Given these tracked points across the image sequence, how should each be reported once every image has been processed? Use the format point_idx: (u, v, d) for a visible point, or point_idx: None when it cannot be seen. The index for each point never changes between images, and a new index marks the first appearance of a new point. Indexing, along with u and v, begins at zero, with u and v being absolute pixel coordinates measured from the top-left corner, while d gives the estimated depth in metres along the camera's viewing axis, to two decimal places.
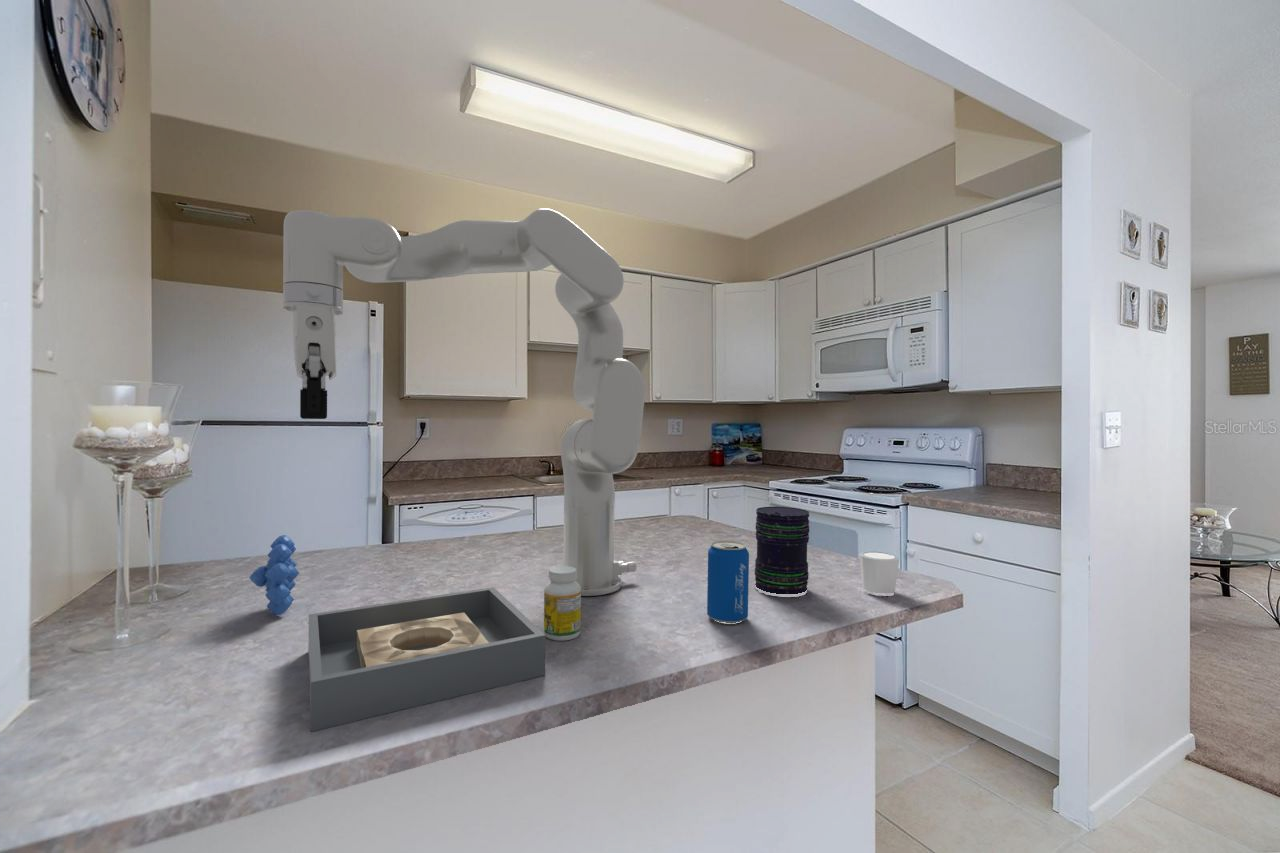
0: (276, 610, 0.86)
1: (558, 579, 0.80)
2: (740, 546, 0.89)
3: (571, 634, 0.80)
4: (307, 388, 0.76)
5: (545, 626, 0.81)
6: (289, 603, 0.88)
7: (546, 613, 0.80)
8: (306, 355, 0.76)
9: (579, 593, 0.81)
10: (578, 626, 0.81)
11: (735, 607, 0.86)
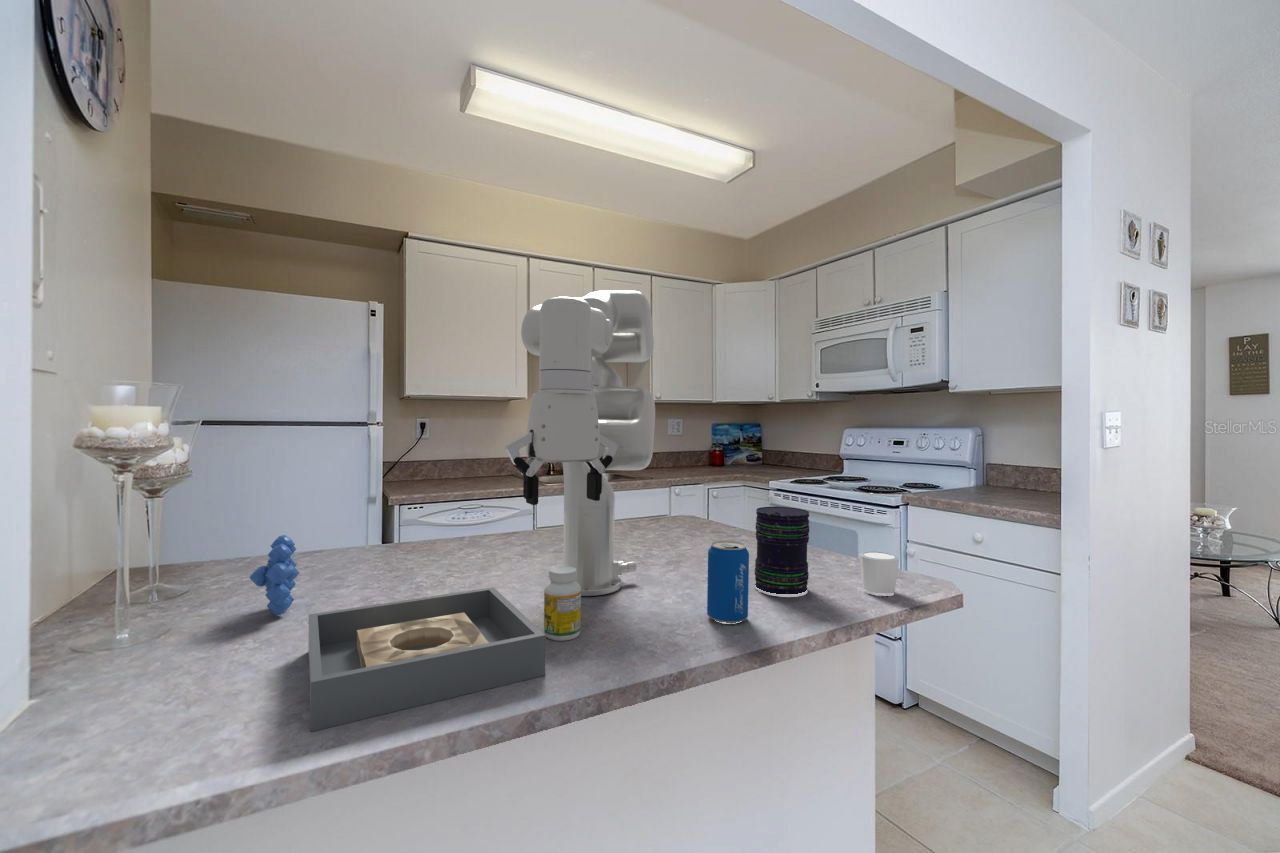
0: (277, 610, 0.86)
1: (559, 579, 0.80)
2: (740, 546, 0.89)
3: (571, 634, 0.80)
4: None
5: (545, 626, 0.81)
6: (289, 603, 0.88)
7: (546, 613, 0.80)
8: None
9: (580, 593, 0.81)
10: (578, 626, 0.81)
11: (735, 607, 0.86)
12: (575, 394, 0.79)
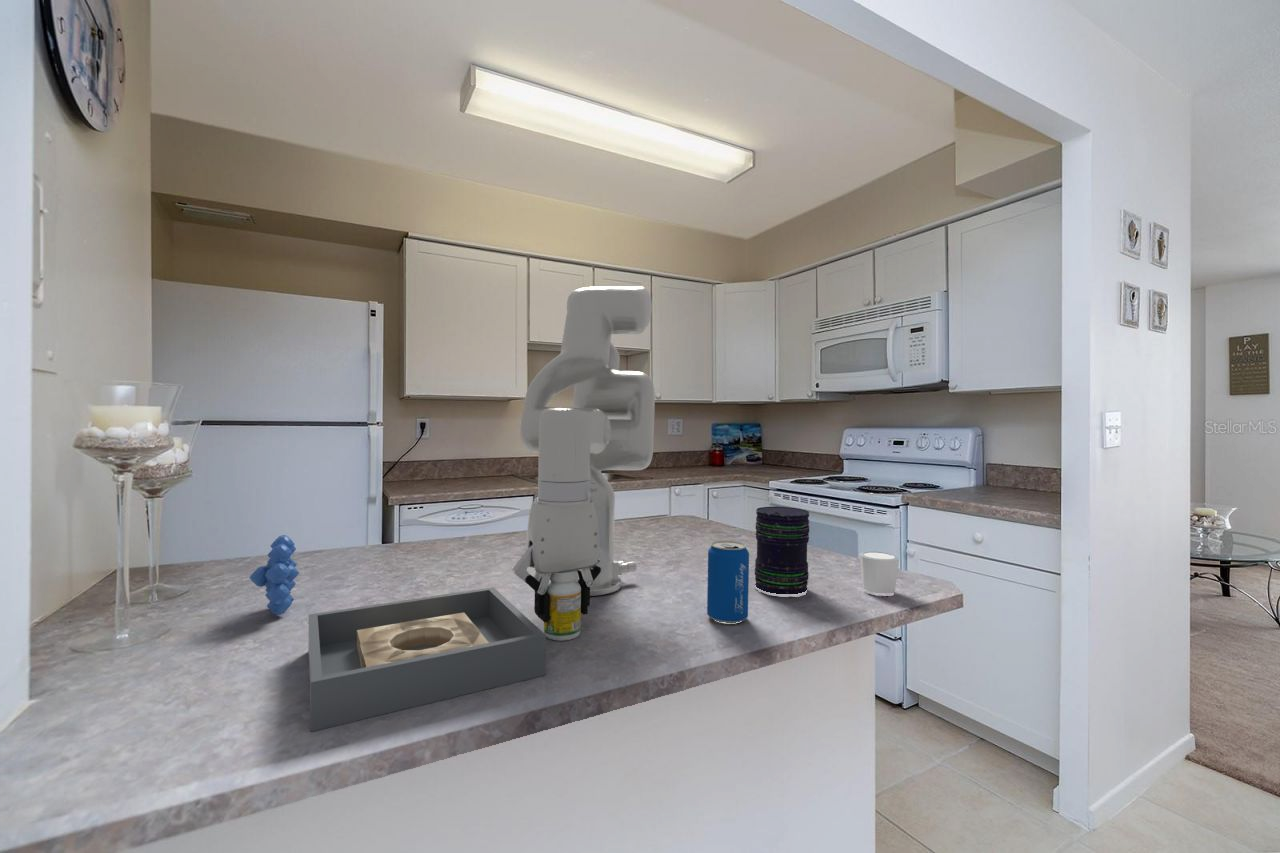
0: (276, 610, 0.86)
1: (559, 579, 0.80)
2: (740, 546, 0.89)
3: (571, 634, 0.80)
4: None
5: (545, 626, 0.81)
6: (289, 603, 0.88)
7: None
8: None
9: (580, 593, 0.81)
10: (578, 626, 0.81)
11: (735, 607, 0.86)
12: (574, 504, 0.80)
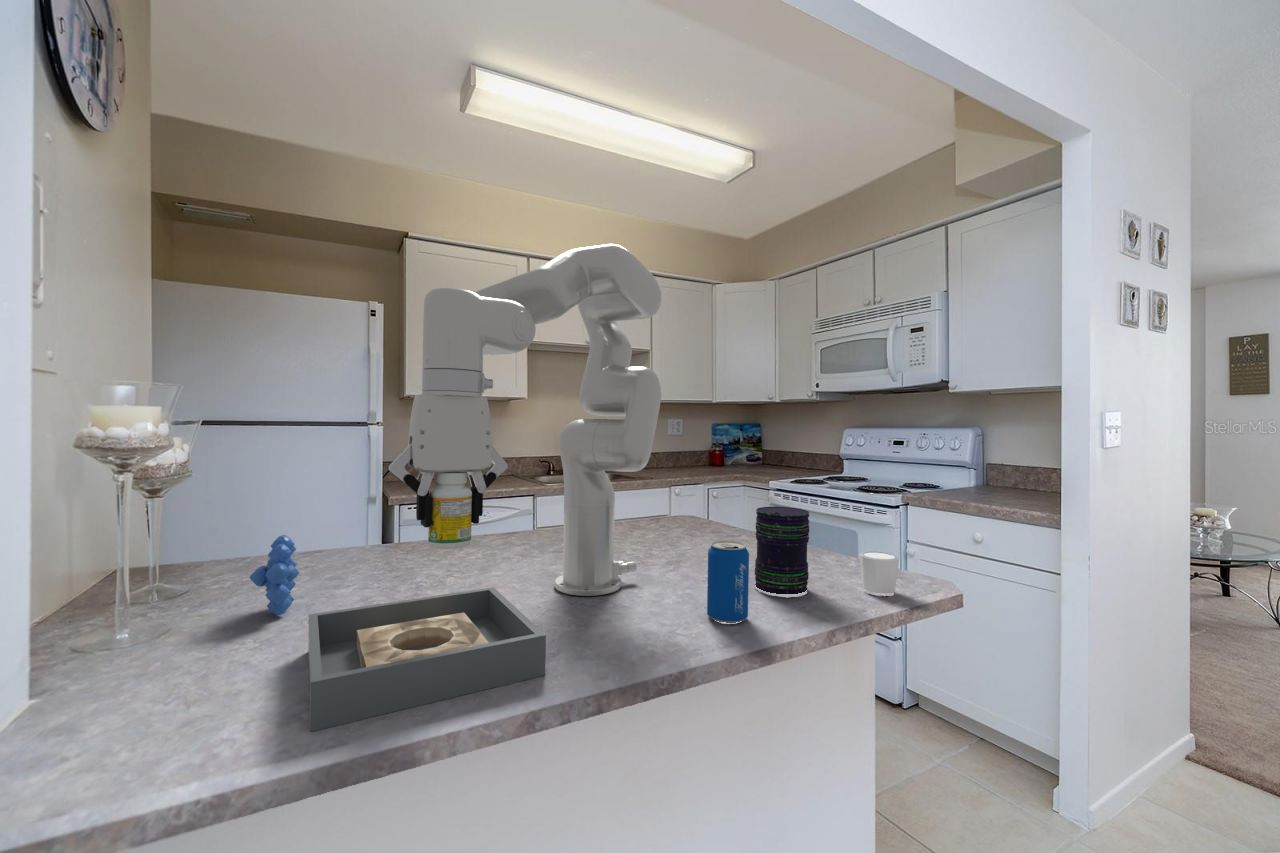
0: (277, 610, 0.86)
1: (443, 480, 0.71)
2: (740, 546, 0.89)
3: (457, 542, 0.71)
4: None
5: (428, 534, 0.72)
6: (289, 603, 0.88)
7: None
8: None
9: (469, 498, 0.72)
10: (466, 534, 0.72)
11: (735, 607, 0.86)
12: (461, 396, 0.71)
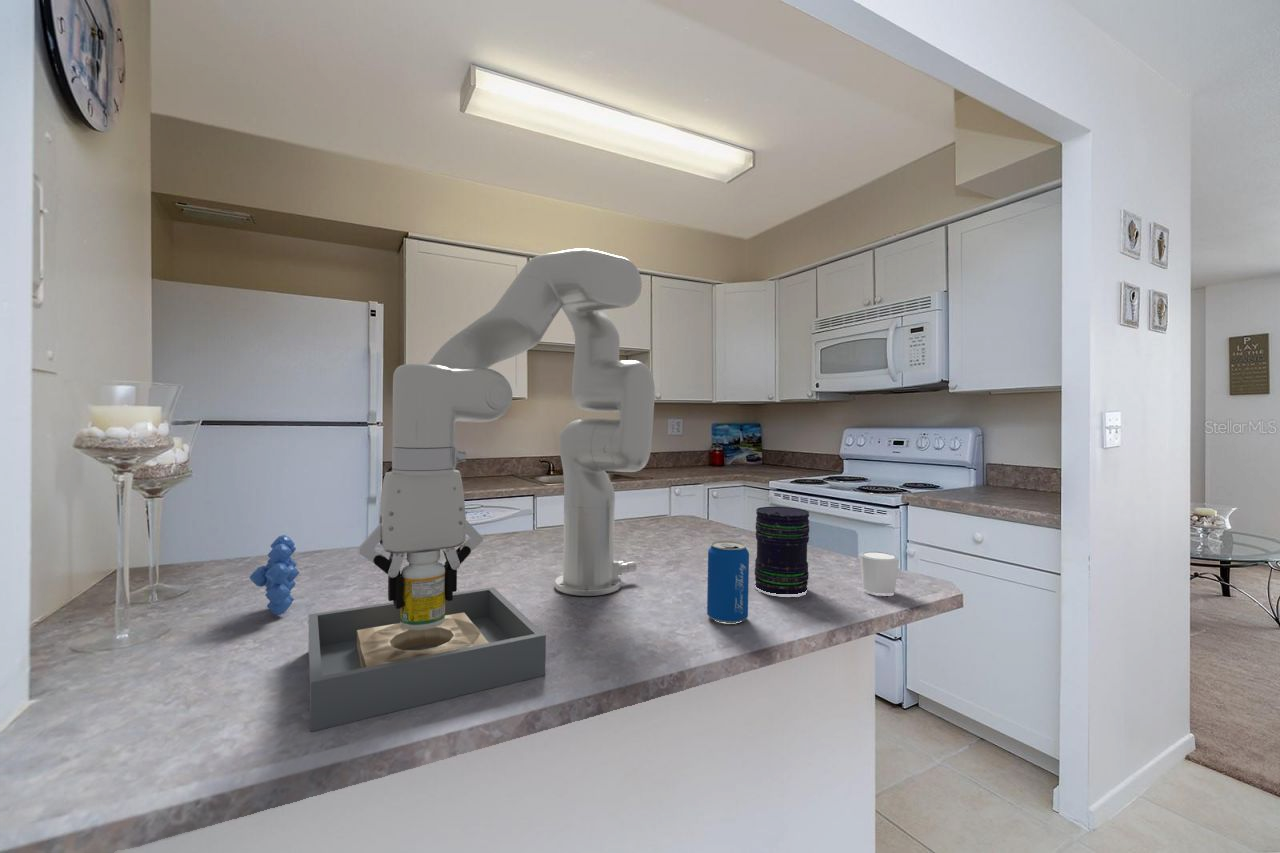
0: (276, 610, 0.86)
1: (415, 560, 0.70)
2: (740, 546, 0.89)
3: (429, 623, 0.70)
4: None
5: None
6: (289, 603, 0.88)
7: None
8: None
9: (442, 576, 0.71)
10: (439, 614, 0.71)
11: (735, 607, 0.86)
12: (432, 474, 0.70)
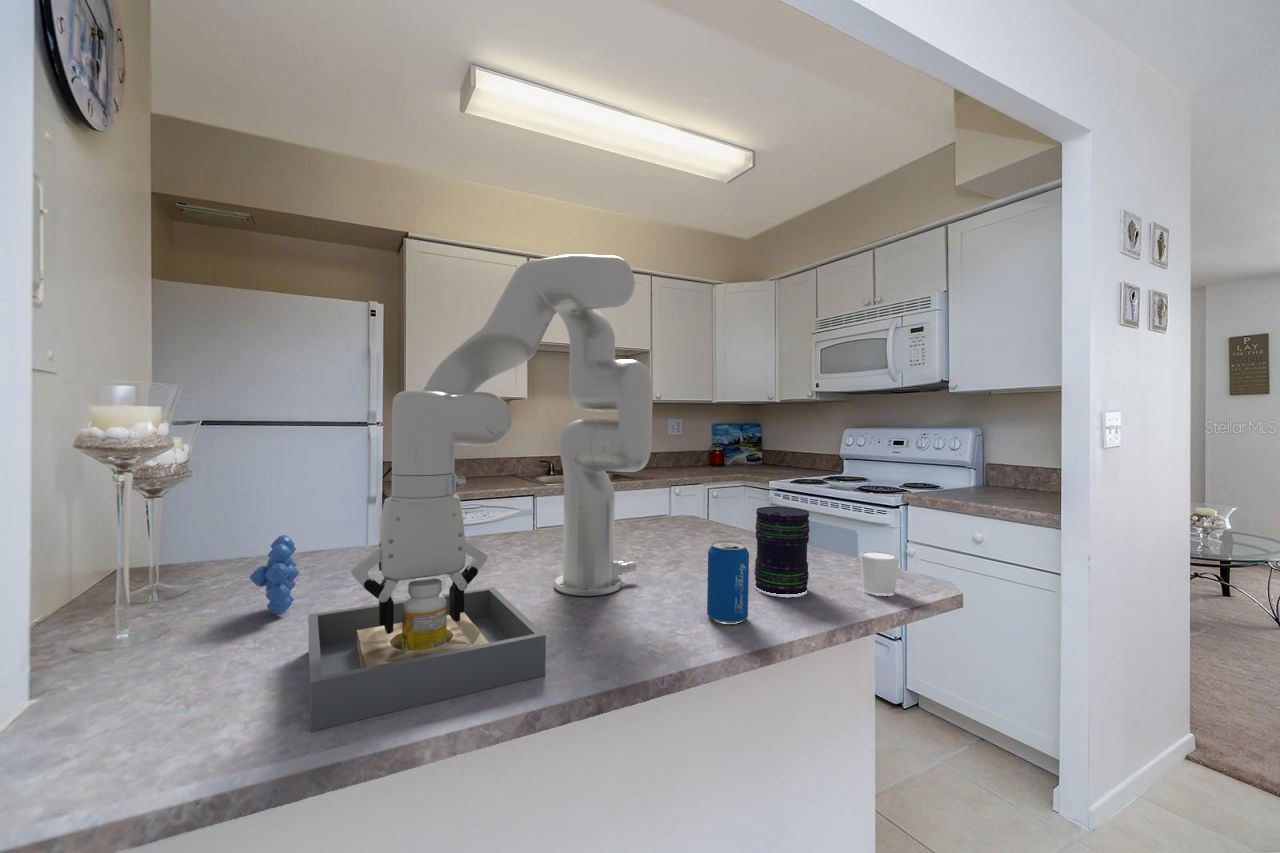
0: (276, 610, 0.86)
1: (416, 593, 0.70)
2: (740, 546, 0.89)
3: None
4: None
5: (402, 647, 0.71)
6: (289, 603, 0.88)
7: (403, 632, 0.70)
8: (464, 549, 0.73)
9: (443, 609, 0.71)
10: None
11: (735, 607, 0.86)
12: (431, 501, 0.70)
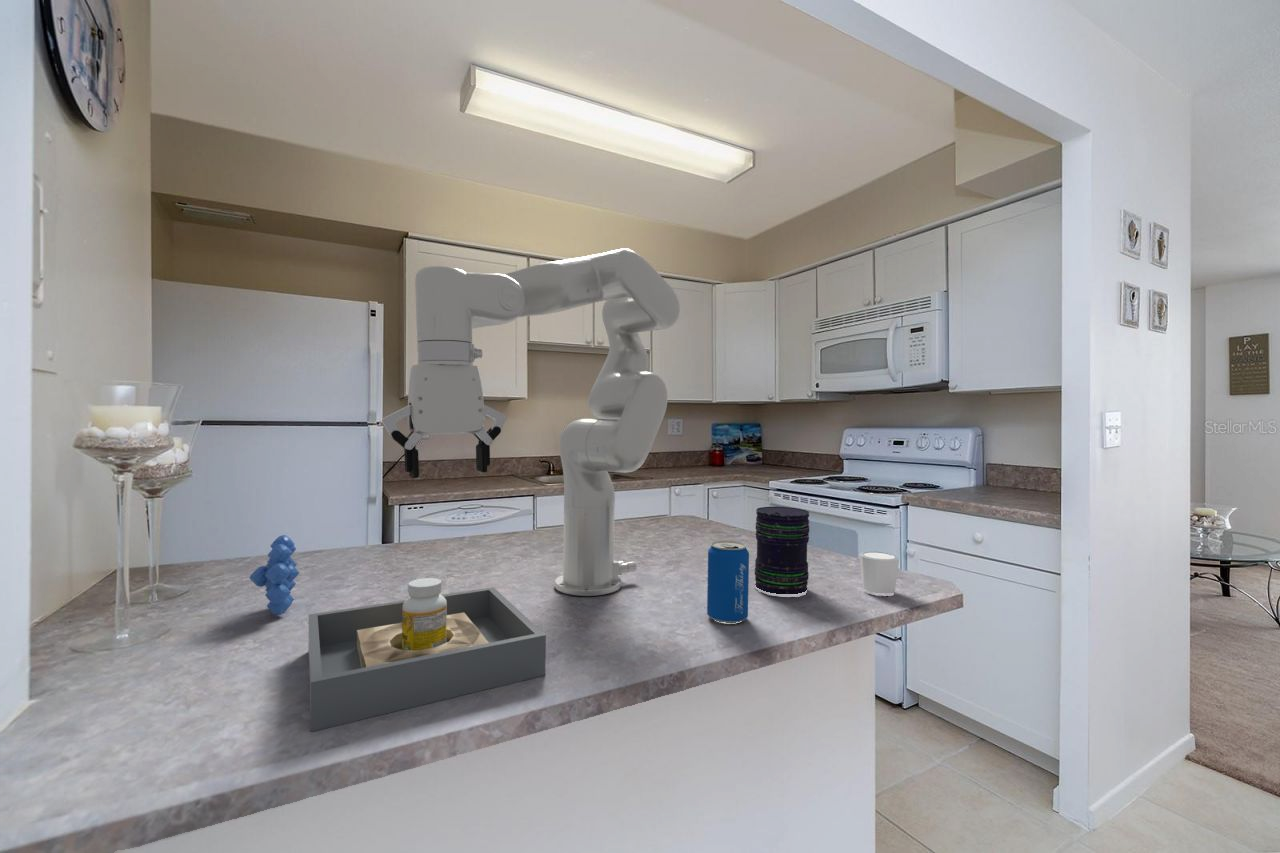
0: (276, 610, 0.86)
1: (416, 593, 0.70)
2: (740, 546, 0.89)
3: None
4: None
5: (402, 647, 0.71)
6: (289, 603, 0.88)
7: (403, 632, 0.70)
8: None
9: (443, 609, 0.71)
10: None
11: (735, 607, 0.86)
12: (454, 365, 0.78)
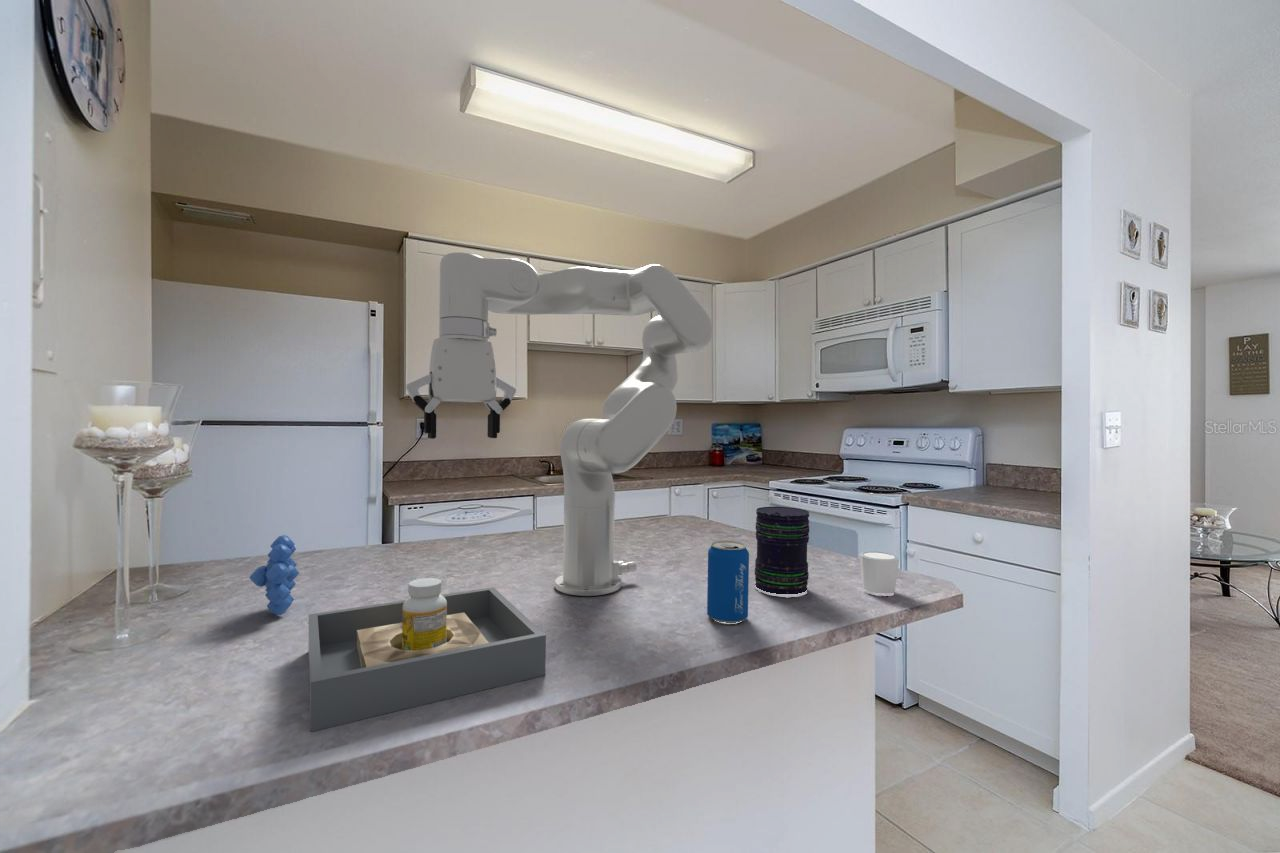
0: (276, 610, 0.86)
1: (416, 593, 0.70)
2: (740, 546, 0.89)
3: None
4: None
5: (402, 647, 0.71)
6: (289, 603, 0.88)
7: (403, 632, 0.70)
8: None
9: (443, 609, 0.71)
10: None
11: (735, 607, 0.86)
12: (470, 340, 0.88)
